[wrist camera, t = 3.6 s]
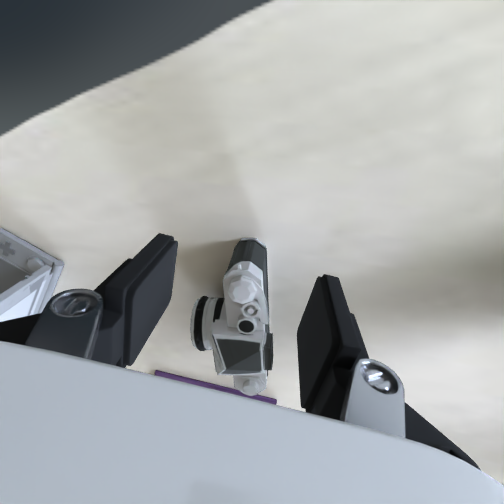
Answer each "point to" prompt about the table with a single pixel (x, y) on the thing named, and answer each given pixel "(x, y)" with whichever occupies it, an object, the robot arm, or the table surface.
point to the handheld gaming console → (25, 277)
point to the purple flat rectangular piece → (214, 387)
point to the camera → (239, 320)
